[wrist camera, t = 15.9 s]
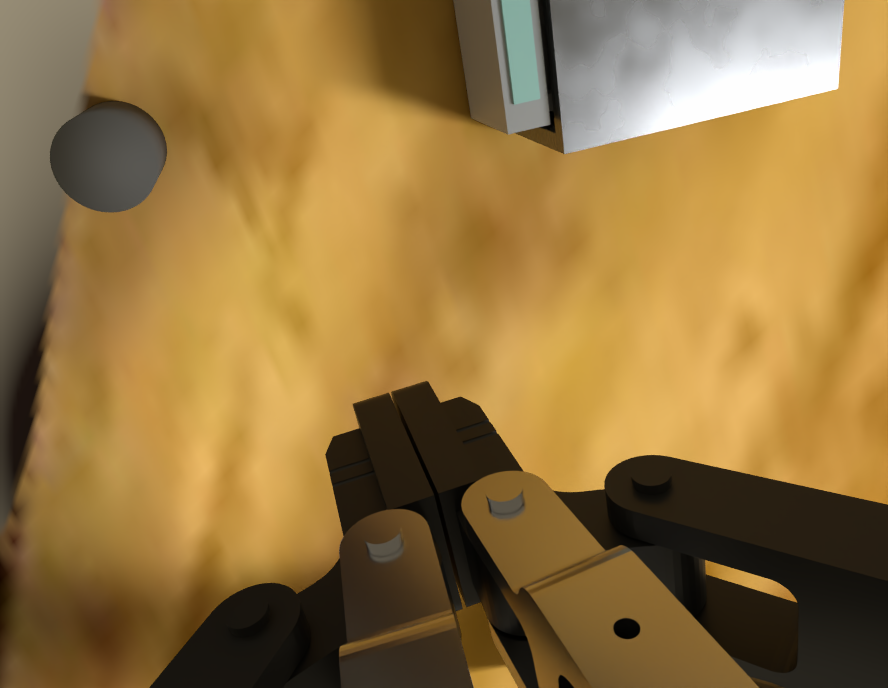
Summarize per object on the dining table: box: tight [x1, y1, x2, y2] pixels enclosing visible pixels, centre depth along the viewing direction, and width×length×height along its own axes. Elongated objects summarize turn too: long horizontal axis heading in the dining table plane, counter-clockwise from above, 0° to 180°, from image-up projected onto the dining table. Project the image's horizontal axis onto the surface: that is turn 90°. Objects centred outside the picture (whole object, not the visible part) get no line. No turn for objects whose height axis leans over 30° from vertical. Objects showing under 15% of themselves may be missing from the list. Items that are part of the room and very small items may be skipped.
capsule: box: [50, 101, 167, 212], centre depth 31 cm, size 4×4×4 cm
